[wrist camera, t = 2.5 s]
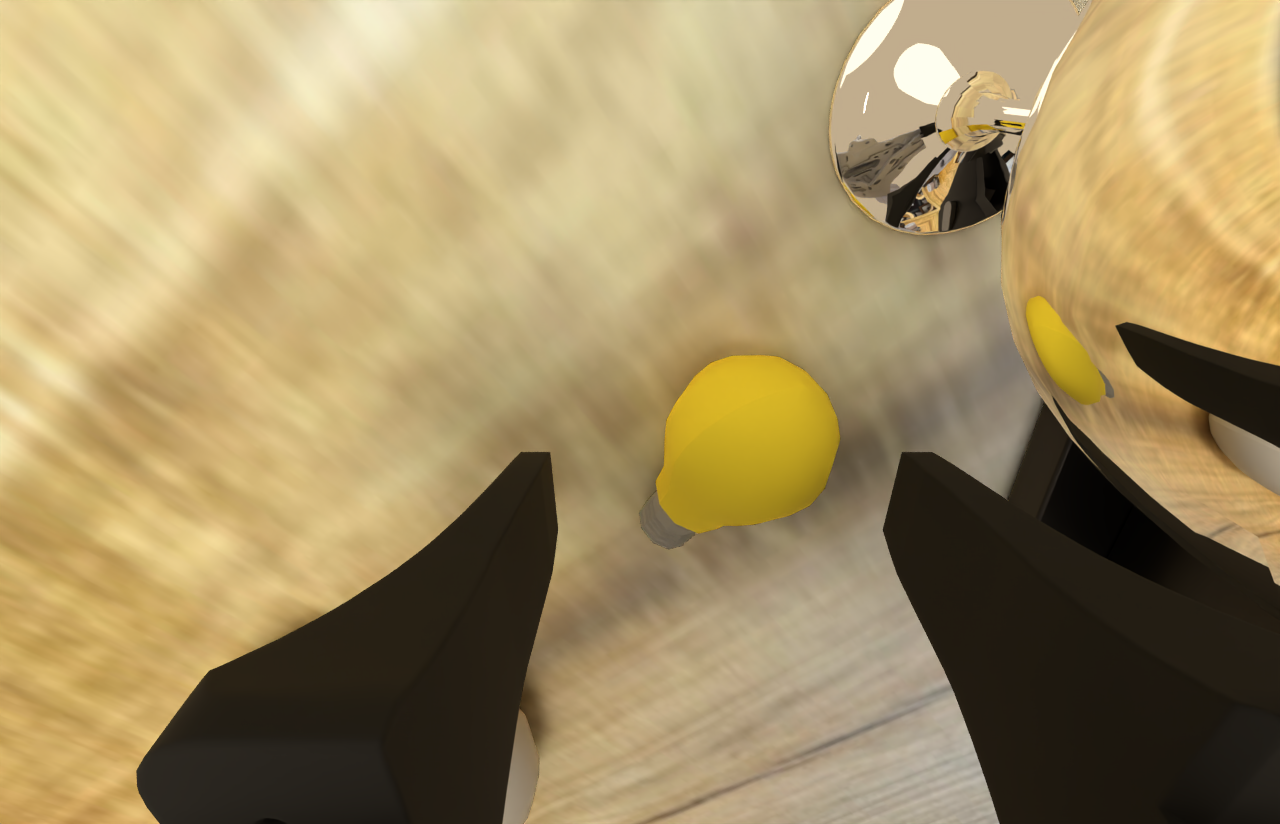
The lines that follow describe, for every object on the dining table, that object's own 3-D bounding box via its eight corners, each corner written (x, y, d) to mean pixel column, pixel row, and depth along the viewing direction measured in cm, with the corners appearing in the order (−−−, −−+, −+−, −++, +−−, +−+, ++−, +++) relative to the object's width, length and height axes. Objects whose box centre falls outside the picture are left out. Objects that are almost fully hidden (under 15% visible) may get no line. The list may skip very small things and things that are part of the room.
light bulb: (840, 339, 13) (905, 479, 11) (698, 481, 17) (725, 603, 15) (710, 297, 12) (755, 449, 9) (588, 463, 16) (600, 595, 13)
